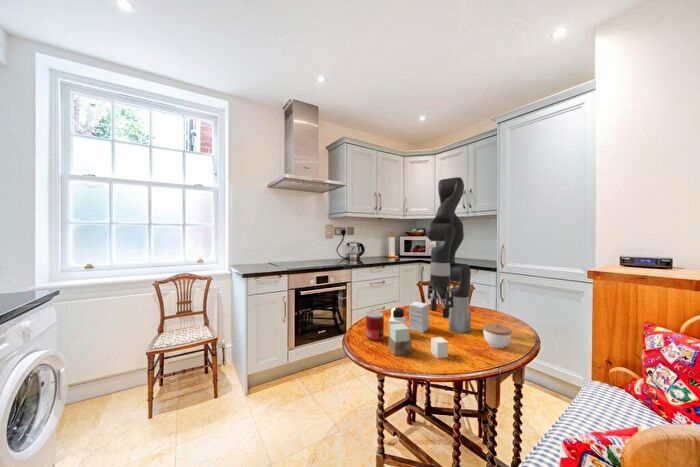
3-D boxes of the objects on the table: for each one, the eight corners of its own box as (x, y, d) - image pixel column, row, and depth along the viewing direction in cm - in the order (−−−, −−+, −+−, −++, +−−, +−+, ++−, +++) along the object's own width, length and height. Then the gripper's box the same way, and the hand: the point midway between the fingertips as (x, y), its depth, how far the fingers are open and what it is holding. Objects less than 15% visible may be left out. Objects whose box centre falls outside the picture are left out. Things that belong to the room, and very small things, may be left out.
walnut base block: (403, 346, 110) (403, 334, 110) (411, 353, 103) (411, 341, 103) (388, 347, 108) (388, 335, 108) (394, 355, 101) (394, 343, 101)
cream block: (441, 351, 105) (441, 337, 105) (447, 357, 100) (448, 341, 100) (431, 352, 104) (431, 338, 104) (437, 358, 99) (437, 342, 99)
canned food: (382, 341, 113) (383, 317, 113) (365, 340, 115) (365, 315, 115) (384, 335, 121) (384, 311, 121) (367, 333, 122) (367, 310, 122)
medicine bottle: (405, 331, 125) (405, 307, 125) (403, 337, 118) (404, 311, 118) (391, 329, 127) (391, 305, 127) (388, 335, 120) (388, 310, 120)
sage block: (403, 335, 109) (403, 323, 109) (409, 341, 103) (409, 328, 103) (389, 336, 108) (389, 324, 108) (395, 342, 102) (395, 329, 102)
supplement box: (415, 325, 134) (415, 301, 133) (429, 328, 129) (429, 303, 129) (408, 329, 128) (408, 304, 128) (422, 333, 123) (422, 307, 123)
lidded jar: (503, 353, 103) (503, 330, 103) (477, 343, 112) (477, 322, 112) (516, 347, 109) (516, 325, 109) (491, 338, 118) (491, 318, 118)
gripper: (459, 276, 96) (459, 319, 96) (438, 270, 109) (437, 308, 110) (441, 277, 94) (441, 321, 94) (422, 271, 108) (422, 309, 108)
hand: (439, 314), depth 102 cm, fingers open, 8 cm apart
